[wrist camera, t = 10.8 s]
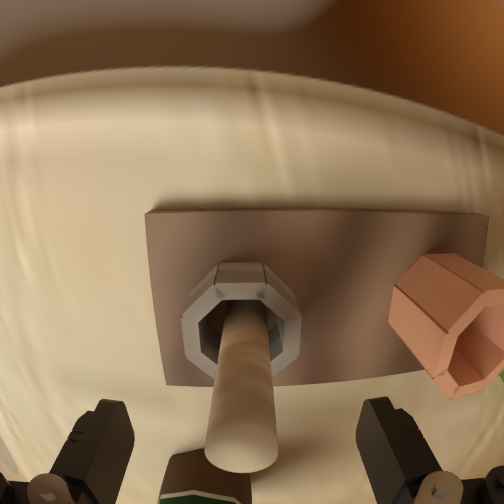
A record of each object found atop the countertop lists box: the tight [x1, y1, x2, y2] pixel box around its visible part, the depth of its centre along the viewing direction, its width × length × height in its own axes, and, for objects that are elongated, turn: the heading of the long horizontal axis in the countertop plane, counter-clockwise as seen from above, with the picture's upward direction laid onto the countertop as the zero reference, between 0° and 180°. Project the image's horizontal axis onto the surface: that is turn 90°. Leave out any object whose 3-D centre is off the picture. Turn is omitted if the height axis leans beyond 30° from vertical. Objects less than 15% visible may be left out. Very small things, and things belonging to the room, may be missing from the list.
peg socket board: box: [145, 208, 489, 387], centre depth 17 cm, size 21×11×4 cm, turn 90°
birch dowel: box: [204, 299, 278, 473], centre depth 13 cm, size 2×2×10 cm
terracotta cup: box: [388, 253, 504, 399], centre depth 15 cm, size 6×6×6 cm
